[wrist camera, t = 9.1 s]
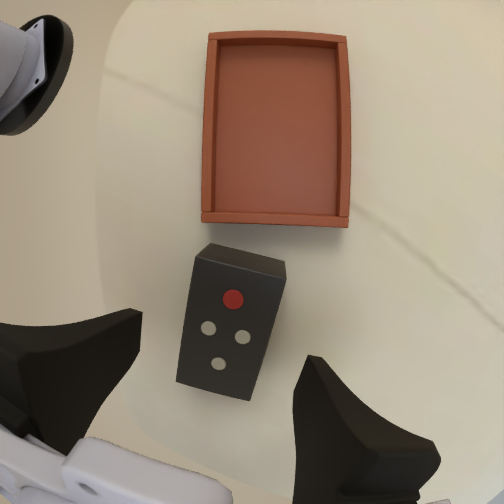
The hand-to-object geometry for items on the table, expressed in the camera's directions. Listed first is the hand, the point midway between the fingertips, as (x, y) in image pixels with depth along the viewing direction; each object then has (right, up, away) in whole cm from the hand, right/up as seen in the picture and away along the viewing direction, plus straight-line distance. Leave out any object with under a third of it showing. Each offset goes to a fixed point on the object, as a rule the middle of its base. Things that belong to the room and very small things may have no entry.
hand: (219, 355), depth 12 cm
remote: (0, +1, +4) cm, 5 cm away
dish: (+3, +11, +2) cm, 11 cm away
